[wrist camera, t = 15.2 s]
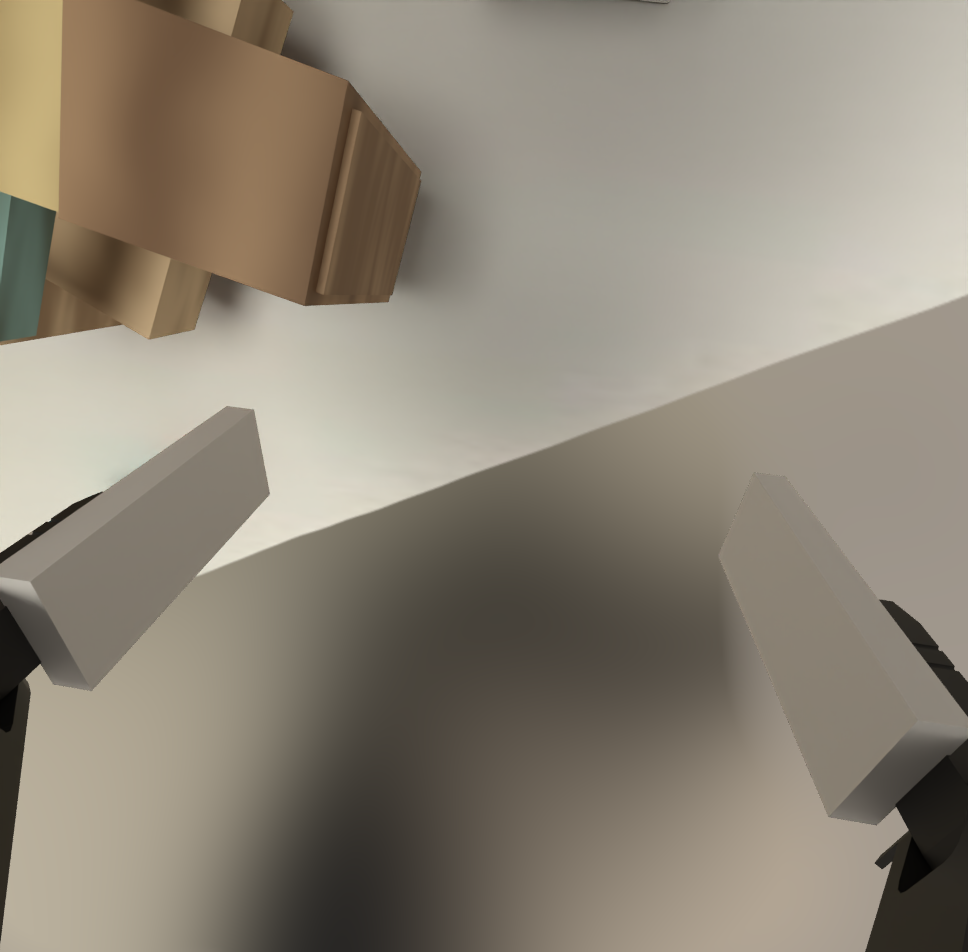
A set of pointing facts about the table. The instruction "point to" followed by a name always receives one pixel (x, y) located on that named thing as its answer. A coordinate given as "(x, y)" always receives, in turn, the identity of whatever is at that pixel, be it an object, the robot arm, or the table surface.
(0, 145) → the cabinet
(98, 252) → the wall board
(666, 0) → the light bulb box
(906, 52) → the table surface
